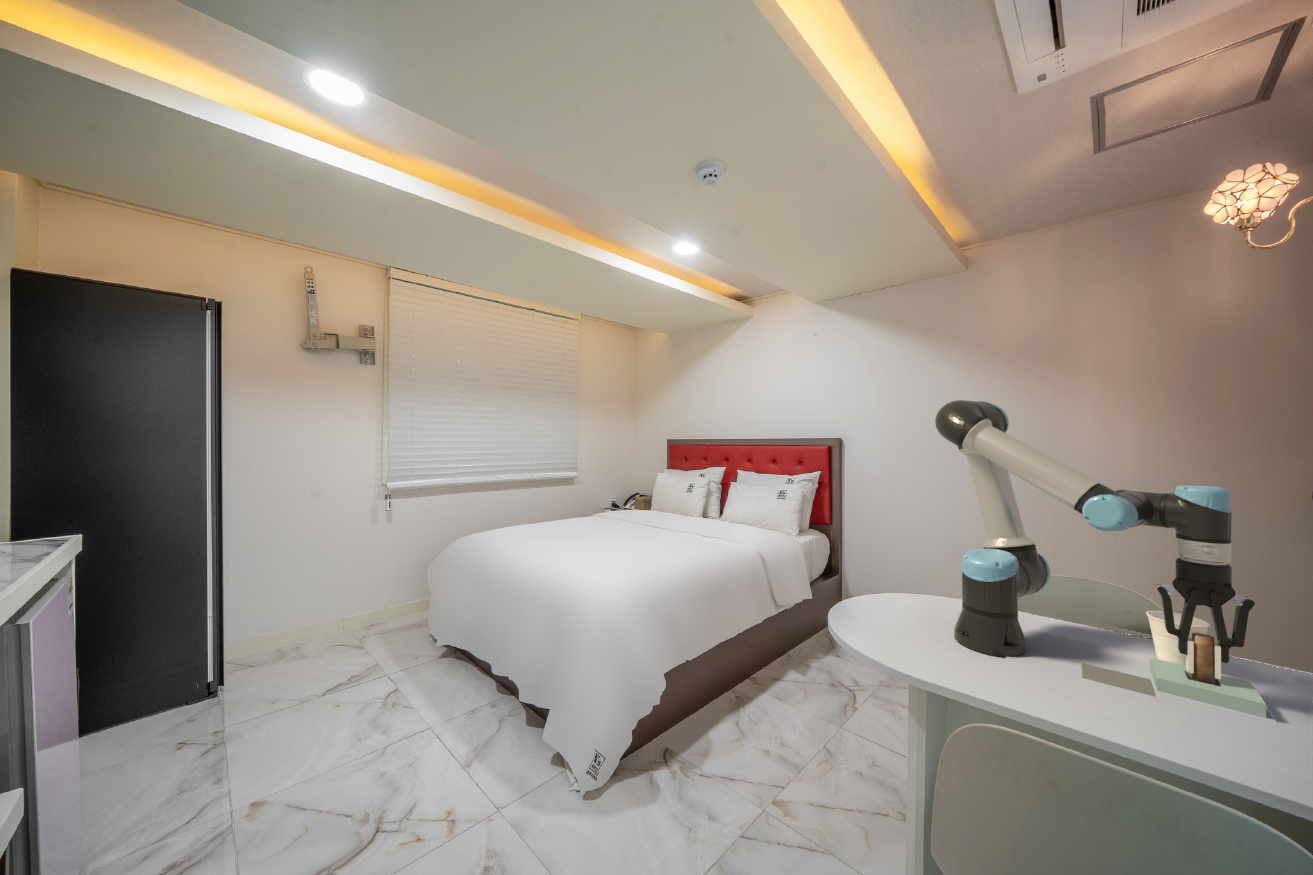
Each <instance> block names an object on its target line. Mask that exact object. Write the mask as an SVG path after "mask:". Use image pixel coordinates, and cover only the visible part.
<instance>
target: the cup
mask: <svg viewBox="0 0 1313 875" xmlns="http://www.w3.org/2000/svg"><path fill="white" fill-rule="evenodd" d="M1145 615H1146V616H1147V618H1148V622H1149V629H1150V630H1151V636H1152V641H1153V645H1154V649H1155V655H1156V659H1158V660H1163V661H1167V662H1172V663H1176V664H1181V665H1186V655H1185V654H1181V653H1180V651H1179V649H1178V637H1177V636H1175V635H1173V634H1169V633H1168V632H1167V630H1166V627H1165V620H1164V612H1163V610H1147V611H1146V612H1145ZM1173 617H1174V624H1175V628H1176V629H1179V625H1180V621H1181V617H1182V613H1177V612H1174V611H1173ZM1210 626H1211V625H1210V623H1209V622H1207V621H1205V620H1203V619H1200V618H1198V617H1195V616H1193V620H1192V625H1191V629H1190V633H1189V637H1188V638H1191V639H1192V633H1202V634H1206V635H1207V633H1208V629H1209V628H1210Z"/></svg>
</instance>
